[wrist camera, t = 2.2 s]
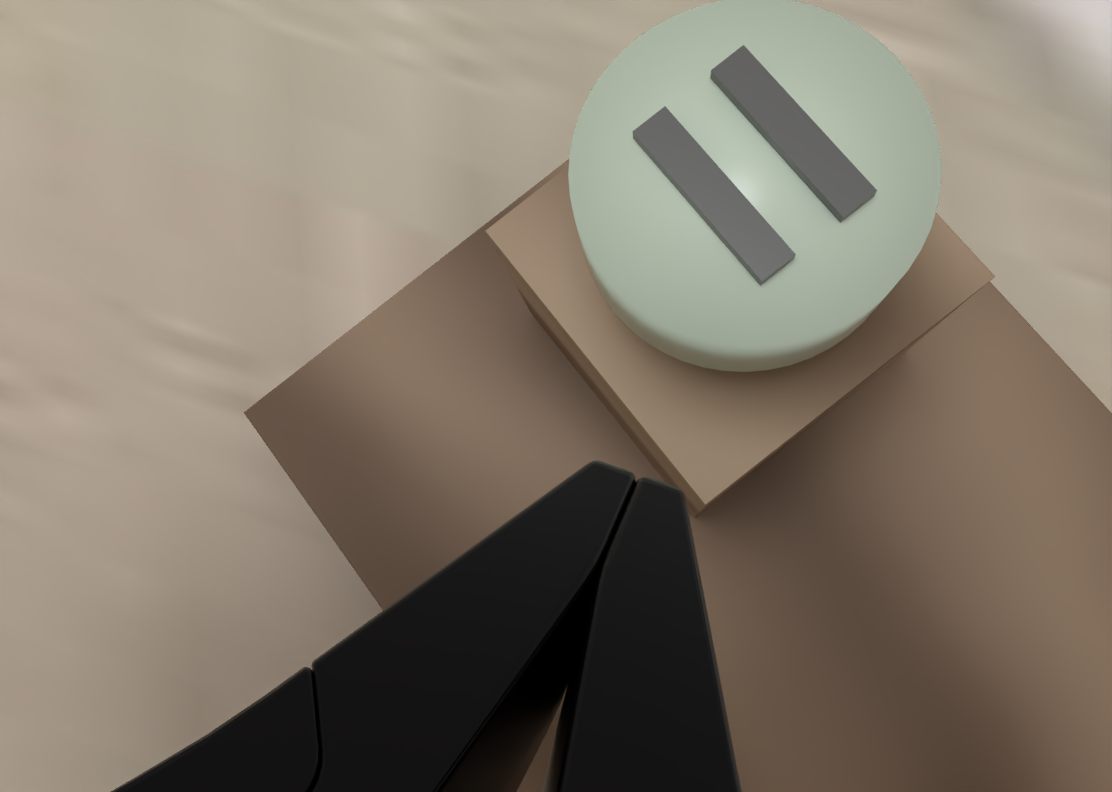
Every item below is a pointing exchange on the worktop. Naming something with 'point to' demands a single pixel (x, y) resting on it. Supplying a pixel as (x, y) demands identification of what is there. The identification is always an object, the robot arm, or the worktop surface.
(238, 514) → the worktop surface
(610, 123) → the button
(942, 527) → the console
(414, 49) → the worktop surface
